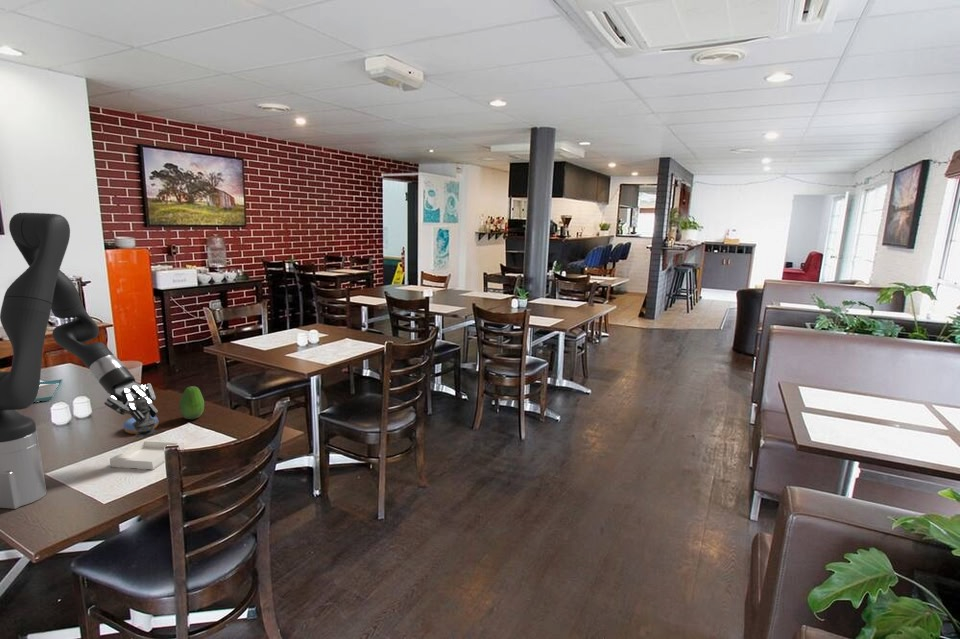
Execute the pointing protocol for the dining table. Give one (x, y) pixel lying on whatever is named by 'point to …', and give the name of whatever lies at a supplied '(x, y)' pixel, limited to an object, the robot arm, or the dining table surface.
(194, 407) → the avocado
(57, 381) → the shallow long dish
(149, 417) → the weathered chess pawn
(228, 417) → the dining table surface
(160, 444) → the ceramic dish
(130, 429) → the doughnut
